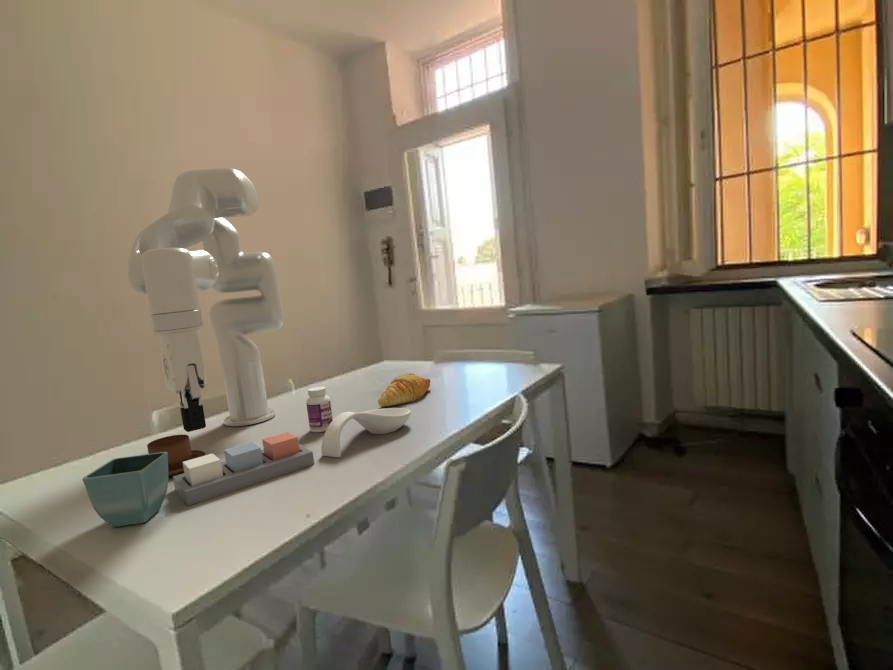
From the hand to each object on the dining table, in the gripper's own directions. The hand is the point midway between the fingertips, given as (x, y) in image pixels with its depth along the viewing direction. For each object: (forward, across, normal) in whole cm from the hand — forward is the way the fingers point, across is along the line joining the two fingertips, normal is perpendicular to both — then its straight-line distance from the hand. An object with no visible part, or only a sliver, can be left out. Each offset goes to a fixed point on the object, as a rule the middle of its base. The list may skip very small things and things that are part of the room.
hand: (195, 429), depth 90 cm
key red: (+9, 0, +14) cm, 17 cm away
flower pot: (+11, +2, -11) cm, 16 cm away
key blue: (+9, 0, +7) cm, 11 cm away
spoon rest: (+11, 0, +33) cm, 35 cm away
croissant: (+11, -21, +56) cm, 61 cm away
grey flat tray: (+11, 0, +7) cm, 13 cm away
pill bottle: (+11, -16, +29) cm, 35 cm away
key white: (+9, 0, 0) cm, 9 cm away
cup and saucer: (+11, -17, -2) cm, 21 cm away
